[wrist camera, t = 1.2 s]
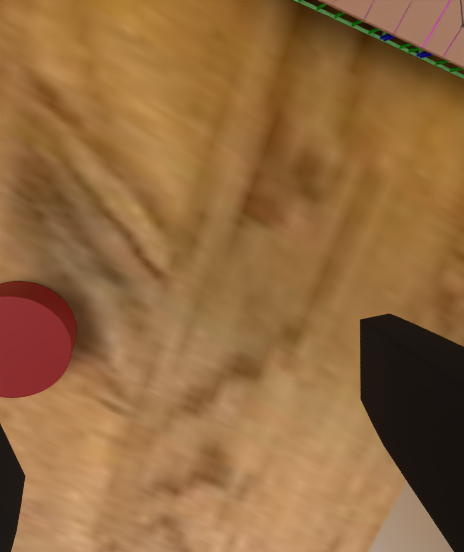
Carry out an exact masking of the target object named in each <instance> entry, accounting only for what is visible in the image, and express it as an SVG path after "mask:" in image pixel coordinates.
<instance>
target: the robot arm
mask: <svg viewBox="0 0 464 552" xmlns="http://www.w3.org/2000/svg"><path fill="white" fill-rule="evenodd" d="M360 378H361V401H362V403H363V405H364V407H365V409H366V411H367V413H368V416H369V418H370V420H371V422H372V424H373V426H374V428H375V430H376V432H377V434H378V436H379V437H380V439H381V441H382V443H383V445H384V447H385V448H386V450H387V451H388V453H389V454H390V456H391V457H392V459H393V460H394V462H395V464H396V465H397V467H398V468H399V470H400V471H401V473H402V474H403V476H404V477H405V479H406V480H407V482H408V483H409V485H410V486H411V488H412V489H413V491H414V492H415V494H416V495H417V497H418V498H419V500H420V501H421V503H422V504H423V506H424V507H425V509H426V510H427V512H428V513H429V515H430V516H431V518H432V519H433V521H434V522H435V524H436V525H437V527H438V528H439V530H440V531H441V533H442V534H443V536H444V537H445V539H446V540H447V542H448V543H449V545H450V546H451V548H452V549H453V551H454V552H464V347H463V346H461V345H459V344H456V343H454V342H452V341H450V340H448V339H446V338H444V337H441V336H439V335H437V334H435V333H433V332H431V331H428V330H426V329H424V328H422V327H420V326H418V325H415V324H413V323H411V322H409V321H406V320H404V319H402V318H399V317H397V316H394V315H392V314H384V315H380V316H375V317H370V318H365V319H361V320H360ZM24 481H25V474H24V472H23V470H22V468H21V466H20V464H19V462H18V460H17V458H16V456H15V454H14V451H13V449H12V447H11V445H10V443H9V441H8V439H7V437H6V435H5V433H4V431H3V428H2V426H1V424H0V552H11V549H12V546H13V542H14V538H15V535H16V531H17V525H18V520H19V514H20V508H21V502H22V495H23V488H24Z"/></svg>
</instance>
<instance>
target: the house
mask: <svg viewBox="0 0 464 552" xmlns="http://www.w3.org/2000/svg"><path fill="white" fill-rule="evenodd" d="M294 1H296V2H298V3H301V4H303V5H305V6H307V7H309V8H311V9H314V10H316V11H318V12H320V13H322V14H324V15H327V16H329V17H331V18H333V19H335V20H337V21H340V22H342V23H344V24H346V25H348V26H350V27H353V28H355V29H357V30H359V31H361V32H363V33H366V34H368V35H370V36H372V37H374V38H376V39H379V40H381V41H383V42H385V43H387V44H389V45H392V46H394V47H396V48H398V49H400V50H402V51H405V52H407V53H409V54H411V55H413V56H415V57H418V58H420V59H422V60H424V61H426V62H429V63H431V64H433V65H435V66H437V67H439V68H442V69H444V70H446V71H448V72H450V73H452V74H455V75H457V76H459V77H461V78H463V79H464V75H463V74H461V73H458V72H456V71H459V70H464V0H318V1H320V2H322V4H321V5H319V6H318V7H316V6H314V5H312V4H310V3H308V2H306V1H304V0H294ZM325 5H329V6H331V7H333V8H335V9H337V10H339V11H341V12H340V13H338V14H336V15H334V14H332V13H329V12H327V11H325V10H323V9H321V8H322V7H324V6H325ZM345 13H346V14H348V15H350V16H352V17H354V18H356V19H358V21H356V22H354V23H351V22H349V21H347V20H344V19H342V18H340V17H339V16H341V15H343V14H345ZM361 22H365V23H367V24H369V25H371V26H373V27H375V29H373V30H370V31H368V30H366V29H364V28H362V27H360V26H357V24H359V23H361ZM379 30H382V31H383V33H382V36H379V35H377V34H375V33H374V32H377V31H379ZM386 33H388V34H386ZM395 37H397V38H399V39H401V40H403V41H405V42H407V43H406V44H403V45H398V44H396V43H394V42H392V41H390V39H393V38H395ZM411 45H414V46H416V48H412V49H407V48H405V47H408V46H411ZM417 50H419V52H418V53H415V52H414V51H417ZM422 50H424V51H423V52H422ZM432 55H435V56H437V57H439V58H441V59H444V60H443V61H438V62H435V61H433V60H431V59H428V58H426V57H428V56H432ZM449 62H450V63H452V64H454V65H456V66H458V68H453V69H450V68H448V67H446V66H443V65H441V64H444V63H449Z"/></svg>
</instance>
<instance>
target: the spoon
mask: <svg viewBox="0 0 464 552" xmlns="http://www.w3.org/2000/svg"><path fill="white" fill-rule="evenodd" d="M76 333H77V329H76V322H75V318H74V315H73V313H72V311H71V309H70V307H69V306H68V305H67V303H66V302H65V301H64V300H63V299H62V298H61V297H60V296H59V295H58V294H56V293H55V292H53V291H52V290H50V289H48V288H46V287H44V286H41V285H38V284H35V283H30V282H22V281H17V282H7V283H2V284H0V397H5V398H18V397H26V396H30V395H34V394H37V393H39V392H41V391H43V390H45V389H47V388H49V387H50V386H52V385H53V384H54V383H55V382H56V381H58V380H59V379H60V377H61V376H62V375H63V374H64V372H65V370H66V369H67V367H68V364H69V362H70V358H71V355H72V351H73V347H74V344H75V340H76Z"/></svg>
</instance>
